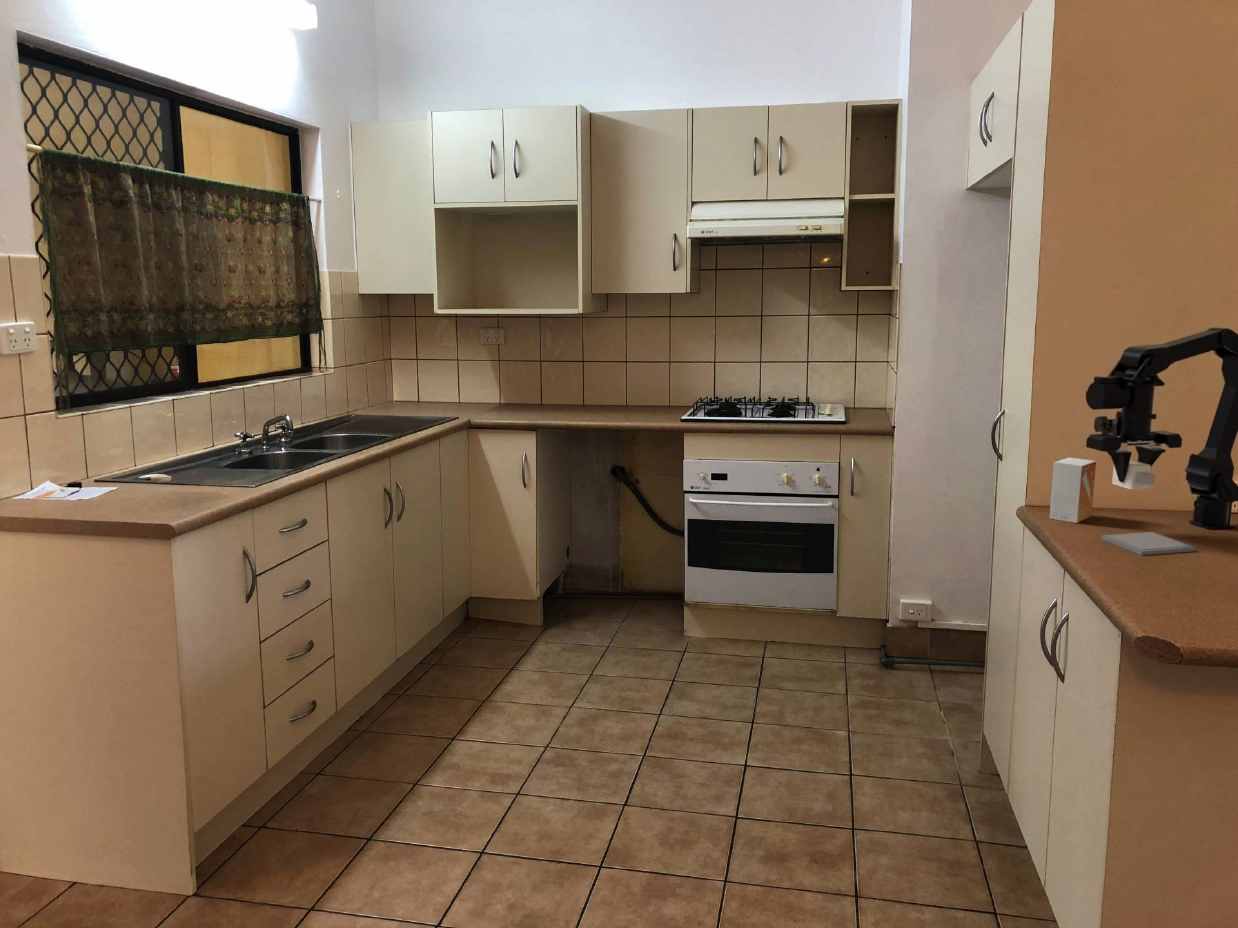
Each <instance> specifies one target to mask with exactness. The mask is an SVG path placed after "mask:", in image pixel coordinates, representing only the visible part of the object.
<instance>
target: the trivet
mask: <svg viewBox="0 0 1238 928" xmlns="http://www.w3.org/2000/svg"><path fill="white" fill-rule="evenodd" d="M1100 539H1101V540H1102V541H1105V542H1106V543H1109V544H1112V545H1115V546H1117V547H1120V548H1122V549H1124V550H1126V551H1130V552H1132V553H1135V554H1137V555H1139V556H1150V555H1164V554H1175V553H1176V554H1177V553H1189V552H1190V553H1192V552H1196V547H1195V546H1192V545H1190V544H1187V543H1184V542H1182V541H1179V540H1176V539H1173V538H1172V537H1171V538H1170V537H1167V536H1165V535H1162V534H1160V533H1156V532H1154V531H1146V532H1145V531H1144V532H1132V533H1129V532H1128V533H1119V534H1118V533H1117V534H1105V535H1104V534H1103V535H1100Z"/></svg>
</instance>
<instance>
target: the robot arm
mask: <svg viewBox="0 0 1238 928" xmlns="http://www.w3.org/2000/svg"><path fill="white" fill-rule="evenodd" d="M1212 351H1213V353H1214V355H1216V356H1217V357H1218V358H1220V359H1221V360H1222V363H1221V373H1222V377H1223V381H1224V385H1223V387H1222V388H1223V389H1222V392H1221V394H1220V398H1219V401H1218V404H1217V407H1216V411H1215V413H1214V417H1213V420H1212V423H1211V427H1210V430H1209V433H1208V436H1207V438H1206V443H1205V445H1204V447H1203V449H1202V450H1201V451H1200V452H1198V453H1197V454H1195V453H1191V454H1190V456H1189V458H1188V463H1187V466H1186V468H1185V469H1184V472H1185V473H1186V474H1185V480H1186V482H1187V483H1188V485H1189V490H1190V494H1192V495H1196V502H1195V503H1194V507H1193V517H1192V519H1188V522H1189V523H1190V524H1194V525H1197V526H1200V527H1203V528H1205V529H1209V530H1217V529H1231V528H1236V526H1237V525H1236V524H1233V523H1232V522H1231V517H1232V508H1233V503H1235V502H1238V485H1237V483H1236V482H1235V480H1233V479H1234V478H1233V477H1234V473H1235V472H1234V471H1235V466H1234V462H1233V459H1232V450H1233V447H1234V445H1235V441H1236V438H1237V435H1238V333H1237V332H1236V331H1234V330H1232V329H1231V328H1228V327H1216V326H1215V327H1210V328H1208V329H1206V330H1204V331H1201V332H1197V333H1193V334H1191V335H1190V334H1189V335H1187V336H1184V337H1181V338H1178V339H1174V340H1170V341H1168V342H1164V343H1160V344H1159V343H1158V344H1143V345H1134V346H1133V345H1132V346H1128V347H1126V348H1125V349H1124V350H1123V352H1122V354H1121V357H1120V358H1119V360H1118V361H1117V363H1116V364H1115V366H1114V367H1113V369H1111V371H1110V372H1109V374H1108V375H1107V376H1101V375H1100V376H1094V378H1093V382H1092V383H1090V385H1089V386H1088V388H1087V390H1086V391H1085V401H1086V404H1087V406H1088V407H1089V408H1090V410H1093V411H1094V410H1096V411H1097V410H1098V411H1099V410H1100V411H1101V410H1117V409H1121V410H1117V411H1116V413H1115V418H1111V419H1110V418H1108V416H1106V415H1103V416H1097V417H1095V418H1094V423H1093V428H1094V431H1095V433H1091V434H1089V436H1088V437H1087V438H1086V443H1085V447H1086V448H1089V449H1092V450H1094V451H1098V452H1103V453H1104V452H1105V453H1107V454H1108V455H1109V457H1111V460H1112V463H1113V467H1114V466H1115V470H1116V473H1117V476H1118V480H1119V481H1120V482H1124V480H1125V478H1126V474H1127V470H1128V466H1129V462H1130V460H1131V458H1132V452H1133V451H1130V450H1129V451H1128V446H1129V447H1130V446H1134V447H1135V450H1136V452H1137V454H1138V455H1137V456H1138V457H1137V462H1141V463H1144V464H1148V465H1151V467H1150V469H1152V467H1153V466H1154V464H1155V463H1156V461H1157V460H1158V459H1159V458H1160V456H1161V455H1162V454H1163V453H1166V452H1167V450H1166V449H1164V448H1162V444H1163V445H1165V446H1166V447H1167V448H1168V449H1178V448H1180V449H1181V448H1182V446H1183V438H1182V436H1181V434H1180V433H1177V432H1172V431H1167V430H1152V421H1153V420H1156V419H1157V417H1158V416H1157V413H1153V411H1154V409H1153V408H1154V397H1155V388H1156V387H1164V386H1165V385H1166V384H1165V382H1164V381H1163V380H1162V379H1161V377H1159V376H1158V374H1160V373H1162V372H1164V371H1167V370H1168V369H1169V367H1170V366H1171V365H1172V364H1175V363H1176V362H1181V361H1184V360H1186V359H1190V358H1194V357H1196V356H1200V355H1203V354H1206V353H1210V352H1212Z"/></svg>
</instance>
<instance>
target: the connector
mask: <svg viewBox="0 0 1238 928" xmlns="http://www.w3.org/2000/svg"><path fill="white" fill-rule="evenodd" d="M1150 467H1151V465H1148V464H1144V463H1141V462H1138V460H1133V459H1130V462H1129V466H1128V470H1127V474H1126V478H1125V480H1124V482H1120V481H1119V480H1118V476H1117V473H1116V470H1115V466H1114V465H1113V468H1112V471H1113V472H1112V480H1111V482H1112V483H1111V484H1112V485H1114V486H1118V487H1122V488H1125V489H1128V490H1131V491H1133V490H1149V488H1150V485H1155V482H1156V474H1154V473H1151V468H1152V467H1151V468H1150Z"/></svg>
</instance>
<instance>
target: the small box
mask: <svg viewBox="0 0 1238 928" xmlns="http://www.w3.org/2000/svg"><path fill="white" fill-rule="evenodd" d="M1096 467H1097V460H1091V459H1084V458H1077V457H1076V458H1075V457H1070V456H1068V457H1066V458H1064V459H1060V460H1057V461H1054V462H1053V468H1052V469H1053V471H1052V483H1051V484H1052V485H1051V495H1050V496H1051V497H1050V508H1049V510H1050V511H1049V519H1051V520H1055V521H1062V522H1067V523H1074V524H1078V523H1080V522H1082V521H1084V520H1086V519H1089V518H1091V517H1092V513H1093V512H1092V511H1093V501H1094V500H1093V499H1094V488H1095V478H1096Z"/></svg>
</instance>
